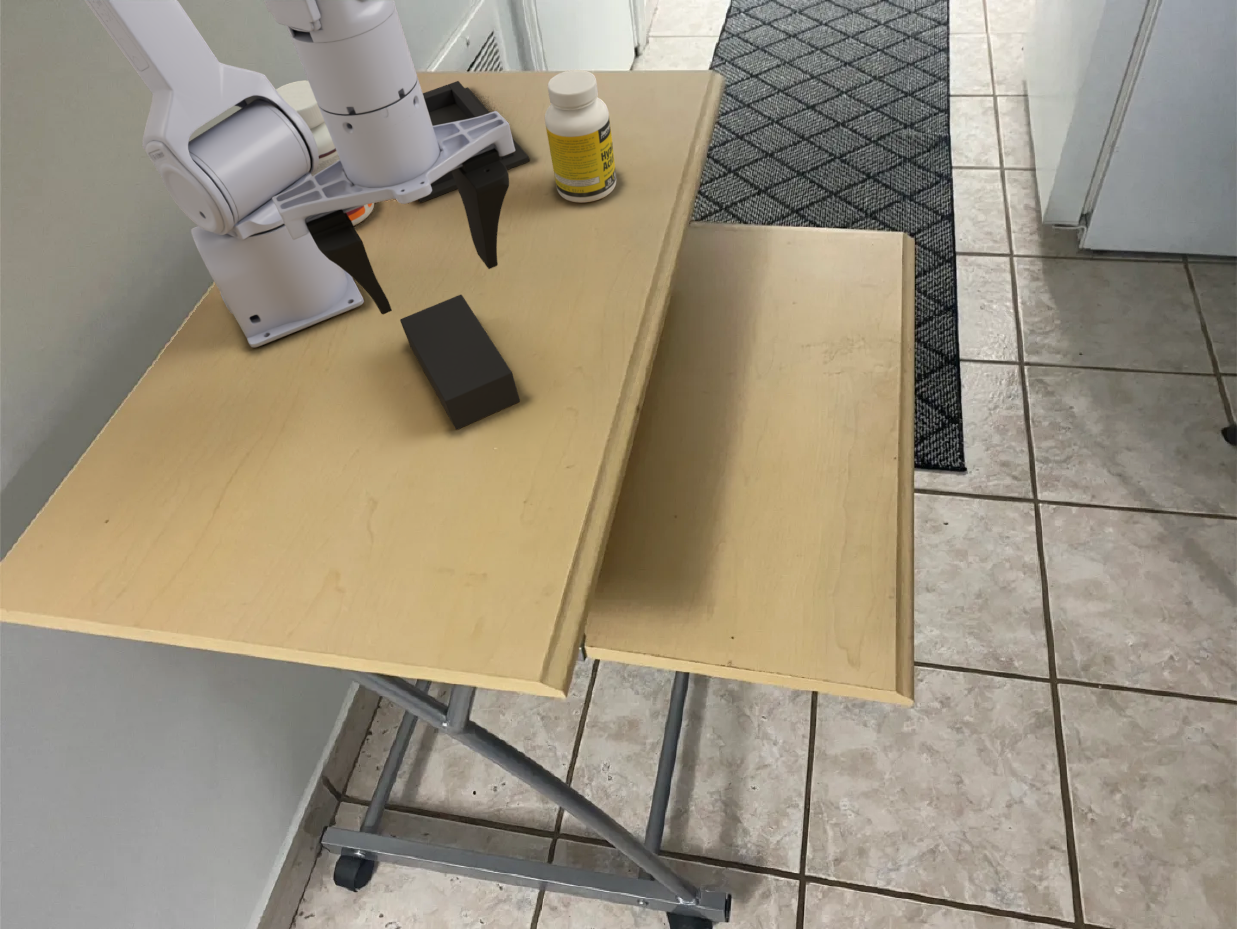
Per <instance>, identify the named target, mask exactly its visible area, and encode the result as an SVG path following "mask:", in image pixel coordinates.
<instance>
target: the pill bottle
mask: <svg viewBox="0 0 1237 929" xmlns="http://www.w3.org/2000/svg"><path fill="white" fill-rule="evenodd" d="M275 89H276V90H277V92H278V93H279V94H280V95H281V97H282V98H283V99H284V100H285V101H286V102H287V103H288V104H289V105H290V106H291V107H292V108H293V109H295V110H296V111H297V112H298V114H299V115H300V116H301V117H302V118H303V120H304V121H305V122H306V124H307V125H308V127H309V129H310V130H311V132H312V134H313V136H314V139H315V141H316V144H317V149H318V156H319V164H318V167H317V169H316V170H315V171H314V172H313V173H312V174H311V175H312V176H314V175H315V174H317V173H319V172H320V171H322V170H324V169H325V168H327V167H328V166H330V165H332V164H333V163H335V162H336V161H338V160H340V158H339V156H338V153H337V151H336V148H335V146H334V143H333V141H332V138H331V136H330V133H329V131H328V128H327V126H326V124H325V121H324V119H323V116H322V114H321V111H320V109H319V106H318V104H317V101H316V99H315V96H314V94H313V91H312V89H311V86H310V84H309V81H308V79H307V80H297V81H293V82H289V83H285V84H284V85H281V86H279V87H277V88H275ZM374 207H375V203H371V204H366V205H364V206H361V207H359V208H356V209H354V210H351V211H349V212H346V213H347V215H348V217H349V218H350V220H351V221H352V224H353V226H357V225H359V224H360V223H361V222H363V221H365V220H366V219H367V218H368V217H369V216H370V215H371V213H372V212H373V210H374Z"/></svg>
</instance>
